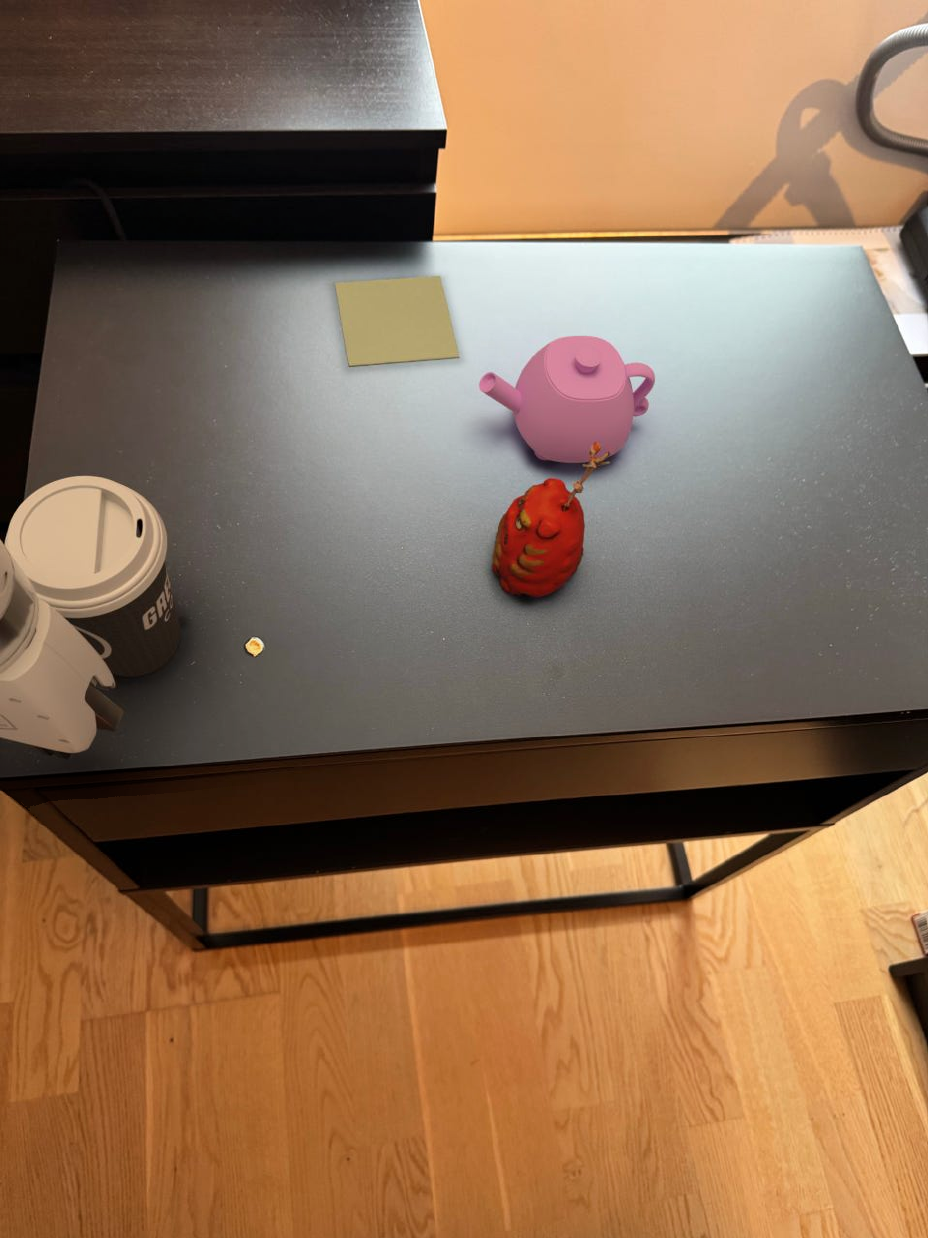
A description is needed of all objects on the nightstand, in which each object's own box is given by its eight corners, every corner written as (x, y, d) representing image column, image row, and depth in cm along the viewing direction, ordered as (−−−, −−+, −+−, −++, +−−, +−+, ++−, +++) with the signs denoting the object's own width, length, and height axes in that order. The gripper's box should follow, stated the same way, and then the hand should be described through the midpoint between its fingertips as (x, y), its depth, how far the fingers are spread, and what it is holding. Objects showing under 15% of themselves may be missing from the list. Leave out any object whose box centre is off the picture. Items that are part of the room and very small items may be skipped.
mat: (348, 366, 80) (348, 365, 80) (334, 283, 85) (334, 282, 84) (459, 357, 82) (459, 356, 82) (440, 276, 86) (440, 275, 86)
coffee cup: (169, 713, 65) (116, 621, 51) (44, 674, 65) (-40, 573, 52) (222, 601, 69) (186, 489, 56) (104, 565, 70) (41, 446, 56)
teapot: (650, 475, 78) (683, 404, 70) (478, 482, 76) (492, 411, 68) (627, 380, 83) (656, 303, 74) (464, 385, 81) (475, 307, 72)
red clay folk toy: (492, 520, 75) (518, 401, 61) (576, 528, 75) (620, 412, 62) (487, 602, 71) (514, 495, 58) (576, 610, 72) (622, 506, 58)
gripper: (-255, 640, 41) (-72, 762, 57) (64, 718, 40) (156, 818, 57) (-167, 505, 44) (-18, 657, 61) (129, 576, 44) (197, 709, 60)
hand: (66, 735), depth 59 cm, fingers closed
